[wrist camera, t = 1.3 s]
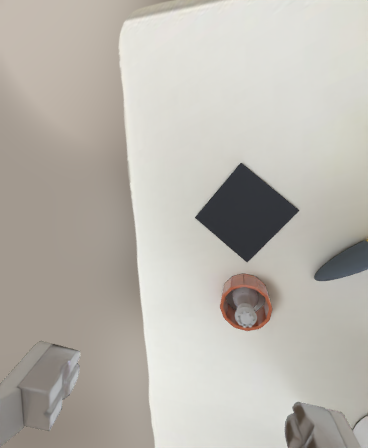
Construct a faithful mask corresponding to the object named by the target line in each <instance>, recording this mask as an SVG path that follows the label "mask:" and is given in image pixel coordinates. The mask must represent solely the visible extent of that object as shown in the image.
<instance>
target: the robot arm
mask: <svg viewBox="0 0 368 448" xmlns="http://www.w3.org/2000/svg"><path fill="white" fill-rule="evenodd" d="M79 358H80V351H78V350H74V349H70V348H67V347H63V346H59V345H55V344H51V343H48V342H43V341H39V342H38V343H37V344H35V345H34V346H33V347H32V348H31V350H30V351H29V352H28V353H27V354H26V355H25V356H24V358H23V359H22V360H21V361H20V362H19V363H18V364H17V365H16V367H15V368H14V369H13V370H12V371H11V372H10V373H9V374H8V376H7V377H6V378H5V379H4V380H3V381H2V382H1V383H0V447H1V446H2V445H3V444H5V443H6V442H7V441H8V440H10V439H11V438H12V437H13V436H15V435H16V434H17V433H18V432H19V431H21V430H22V429H23V428H24V426H26V427H31V428H36V429H41V430H46V431H50V429H51V427H52V425H53V424H54V422H55V420H56V418H57V417H58V415H59V413H60V411H61V410H62V400H63V399H65V398H66V397H68V396H69V395H70V393H71V392H72V390H73V388H74V386H75V383H76V381H77V378H78V375H79V369H80V366H79V364H78V363H77V362H78V360H79ZM293 411H294V413H293V414H291V415H289V416H288V417H287V419H286V422H285V437H286V442H287V446H288V448H368V416H366V417H364V418H363V419H361V420H360V421H359V422H358V423H357V425H356V426H355V428H354V430H353V431H352V429H351V427H350V425H349V423H348V421H347V419H346V417H345V416H344V415H343V414H342V412H339V411H335V410H331V409H326V408H324V407H320V406H315V405H310V404H306V403H301V402H297V403H295V404H294V406H293Z"/></svg>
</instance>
